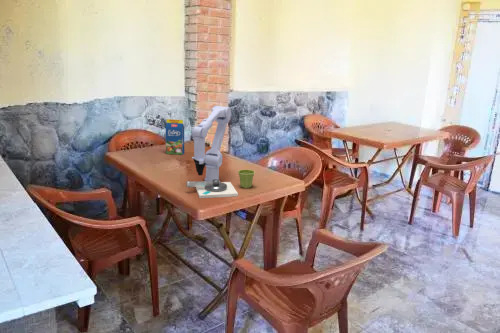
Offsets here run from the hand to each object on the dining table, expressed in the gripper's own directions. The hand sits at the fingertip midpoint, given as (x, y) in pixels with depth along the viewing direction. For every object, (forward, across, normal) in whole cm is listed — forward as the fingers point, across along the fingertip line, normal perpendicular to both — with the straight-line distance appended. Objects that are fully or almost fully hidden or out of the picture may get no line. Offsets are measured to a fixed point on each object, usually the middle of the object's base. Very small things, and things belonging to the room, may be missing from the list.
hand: (199, 173), depth 221 cm
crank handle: (+7, +6, +3) cm, 10 cm away
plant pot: (+9, +1, +26) cm, 27 cm away
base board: (+8, +6, +8) cm, 13 cm away
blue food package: (+9, -81, -7) cm, 82 cm away
